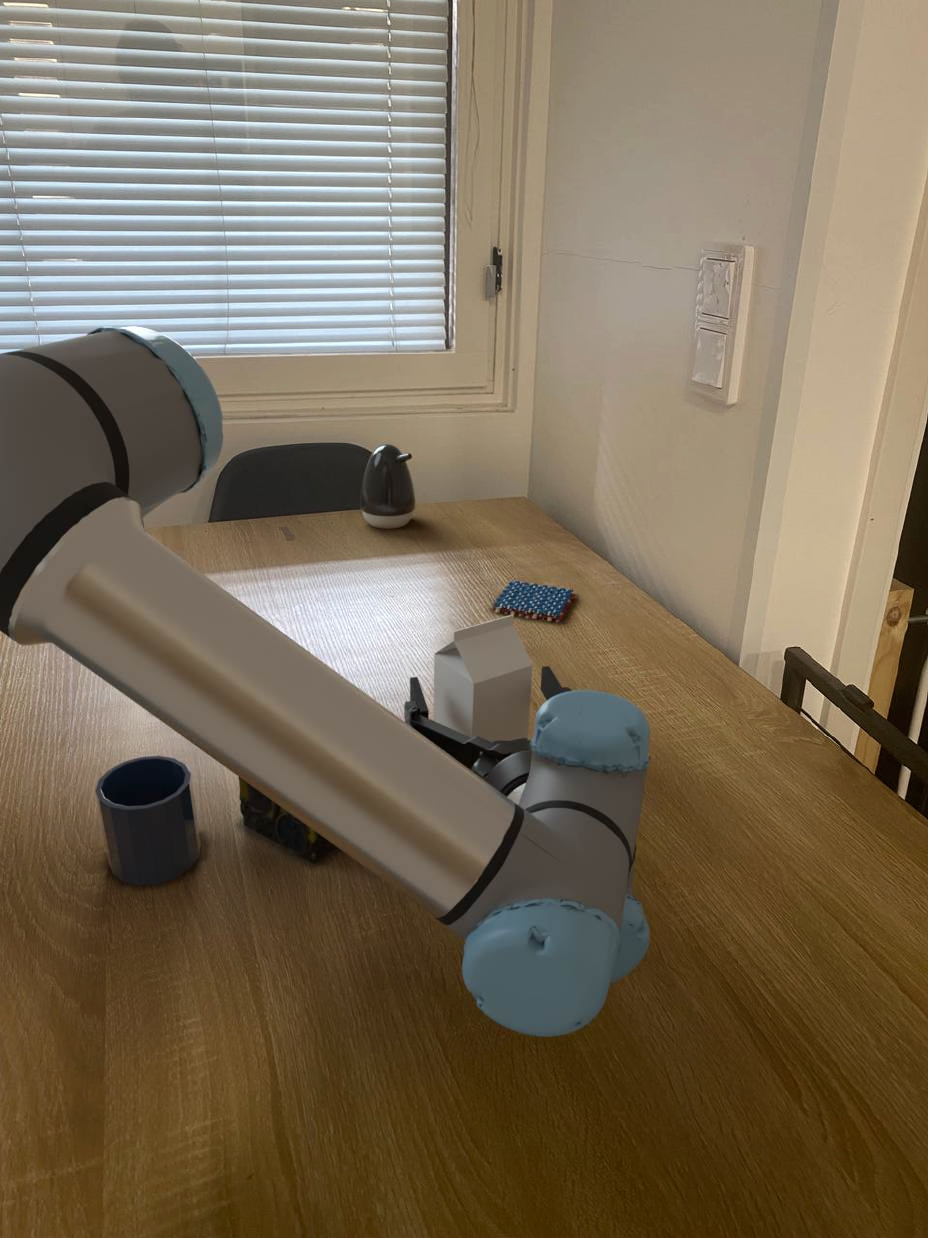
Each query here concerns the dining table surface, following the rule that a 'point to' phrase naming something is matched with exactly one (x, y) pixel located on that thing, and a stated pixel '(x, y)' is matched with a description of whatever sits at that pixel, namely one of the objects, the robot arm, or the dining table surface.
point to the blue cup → (149, 819)
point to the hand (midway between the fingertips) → (480, 683)
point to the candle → (281, 825)
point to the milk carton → (484, 682)
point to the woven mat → (534, 601)
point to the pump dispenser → (387, 489)
